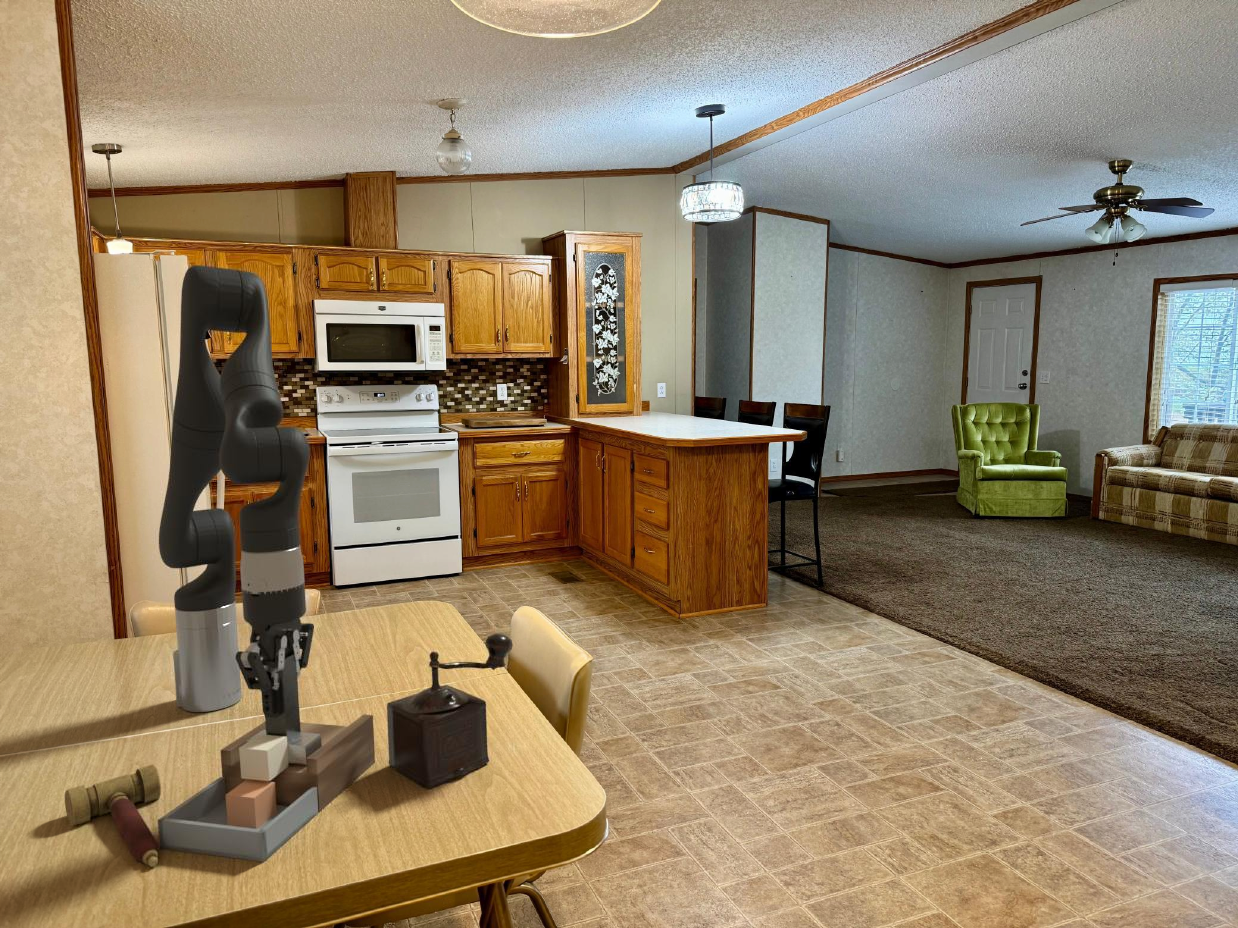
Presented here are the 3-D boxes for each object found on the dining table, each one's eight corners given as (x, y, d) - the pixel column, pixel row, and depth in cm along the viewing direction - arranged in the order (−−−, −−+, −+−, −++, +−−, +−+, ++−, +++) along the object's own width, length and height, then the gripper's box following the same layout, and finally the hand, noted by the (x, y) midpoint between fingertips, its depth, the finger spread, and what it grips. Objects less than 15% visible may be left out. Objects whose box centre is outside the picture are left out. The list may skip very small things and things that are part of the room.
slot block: (223, 801, 109) (220, 749, 108) (288, 753, 123) (285, 707, 122) (319, 811, 106) (316, 759, 105) (375, 761, 119) (372, 715, 119)
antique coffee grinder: (429, 792, 111) (424, 661, 109) (386, 765, 118) (381, 643, 116) (521, 753, 122) (518, 633, 120) (476, 731, 129) (472, 618, 127)
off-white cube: (241, 778, 105) (239, 747, 104) (261, 763, 109) (259, 734, 108) (269, 781, 104) (267, 750, 103) (288, 765, 108) (286, 736, 107)
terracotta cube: (248, 809, 106) (227, 825, 102) (246, 779, 105) (225, 794, 102) (276, 812, 105) (256, 829, 101) (274, 782, 105) (254, 797, 101)
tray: (159, 847, 98) (157, 819, 98) (222, 802, 109) (220, 776, 108) (264, 861, 95) (262, 832, 95) (318, 813, 106) (316, 786, 105)
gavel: (200, 828, 97) (101, 863, 90) (202, 863, 98) (104, 901, 91) (150, 758, 112) (63, 784, 105) (152, 789, 113) (65, 817, 106)
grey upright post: (247, 758, 109) (240, 659, 108) (264, 746, 113) (258, 650, 111) (306, 764, 107) (299, 662, 106) (322, 751, 111) (316, 653, 109)
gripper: (280, 568, 115) (288, 689, 117) (210, 594, 101) (219, 731, 103) (329, 570, 113) (336, 692, 115) (264, 597, 100) (273, 735, 102)
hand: (281, 710), depth 109 cm, fingers closed on grey upright post, 3 cm apart
